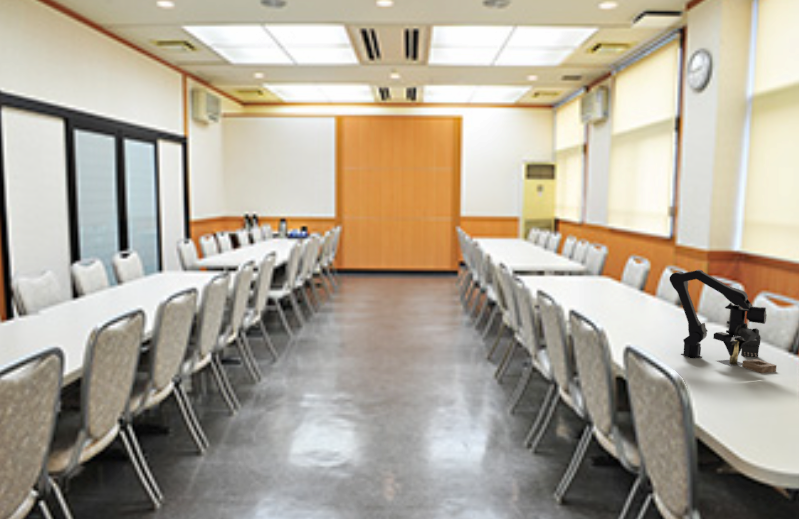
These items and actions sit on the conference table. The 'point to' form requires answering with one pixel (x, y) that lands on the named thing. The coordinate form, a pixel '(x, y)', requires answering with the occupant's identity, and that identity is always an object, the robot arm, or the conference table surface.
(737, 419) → the conference table surface
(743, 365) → the pin block
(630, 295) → the conference table surface
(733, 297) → the robot arm
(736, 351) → the pin
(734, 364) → the mat
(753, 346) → the battery charger
